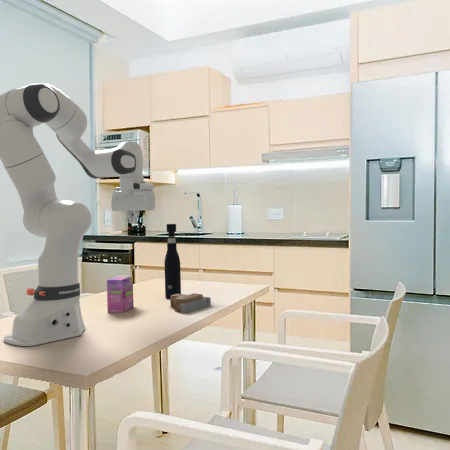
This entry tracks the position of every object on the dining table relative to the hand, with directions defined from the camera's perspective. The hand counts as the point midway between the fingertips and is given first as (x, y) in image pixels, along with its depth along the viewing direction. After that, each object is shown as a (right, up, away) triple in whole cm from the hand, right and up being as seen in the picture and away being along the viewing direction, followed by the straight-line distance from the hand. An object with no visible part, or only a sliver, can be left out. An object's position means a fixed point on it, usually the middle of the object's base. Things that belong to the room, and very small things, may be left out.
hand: (133, 222), depth 169 cm
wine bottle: (+13, -31, +14) cm, 36 cm away
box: (-3, -32, -6) cm, 32 cm away
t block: (+20, -31, -6) cm, 37 cm away
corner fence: (+21, -31, -6) cm, 38 cm away
